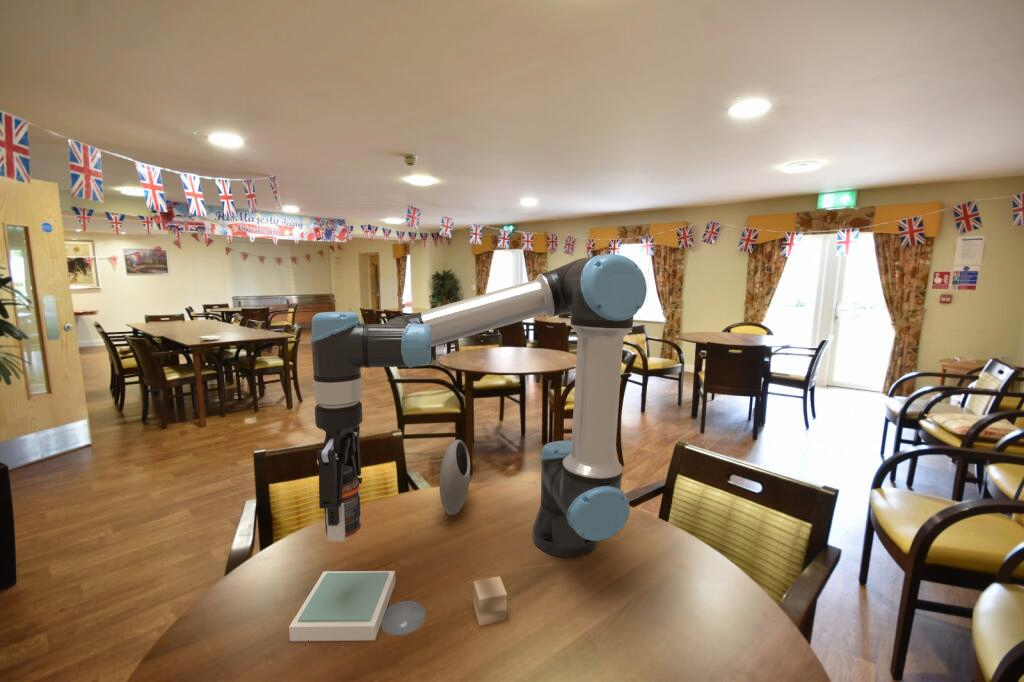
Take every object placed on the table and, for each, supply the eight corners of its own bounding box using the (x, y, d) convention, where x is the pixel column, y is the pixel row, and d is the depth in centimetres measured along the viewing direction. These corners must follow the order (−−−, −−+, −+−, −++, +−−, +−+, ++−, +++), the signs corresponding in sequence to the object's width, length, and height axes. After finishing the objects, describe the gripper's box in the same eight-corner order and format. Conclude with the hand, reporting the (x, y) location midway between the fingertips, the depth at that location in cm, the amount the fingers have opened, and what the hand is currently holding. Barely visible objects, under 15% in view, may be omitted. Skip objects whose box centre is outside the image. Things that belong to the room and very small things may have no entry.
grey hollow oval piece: (462, 530, 104) (461, 456, 102) (433, 529, 105) (432, 455, 103) (474, 494, 123) (474, 430, 120) (450, 493, 123) (449, 429, 121)
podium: (395, 583, 86) (395, 569, 85) (374, 640, 72) (374, 623, 72) (324, 583, 85) (323, 569, 85) (289, 641, 72) (288, 624, 71)
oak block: (499, 600, 81) (499, 576, 81) (506, 620, 77) (507, 594, 76) (473, 605, 80) (473, 581, 79) (479, 626, 75) (479, 599, 75)
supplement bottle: (367, 523, 79) (365, 464, 78) (349, 542, 73) (346, 478, 72) (338, 519, 80) (335, 461, 79) (318, 537, 74) (314, 475, 73)
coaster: (429, 604, 81) (429, 600, 81) (421, 638, 73) (421, 634, 73) (386, 605, 81) (386, 601, 81) (374, 639, 73) (374, 634, 73)
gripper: (337, 389, 83) (342, 502, 86) (289, 419, 64) (297, 563, 67) (376, 389, 83) (379, 502, 86) (340, 419, 65) (345, 562, 67)
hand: (343, 528), depth 77 cm, fingers closed on supplement bottle, 6 cm apart
